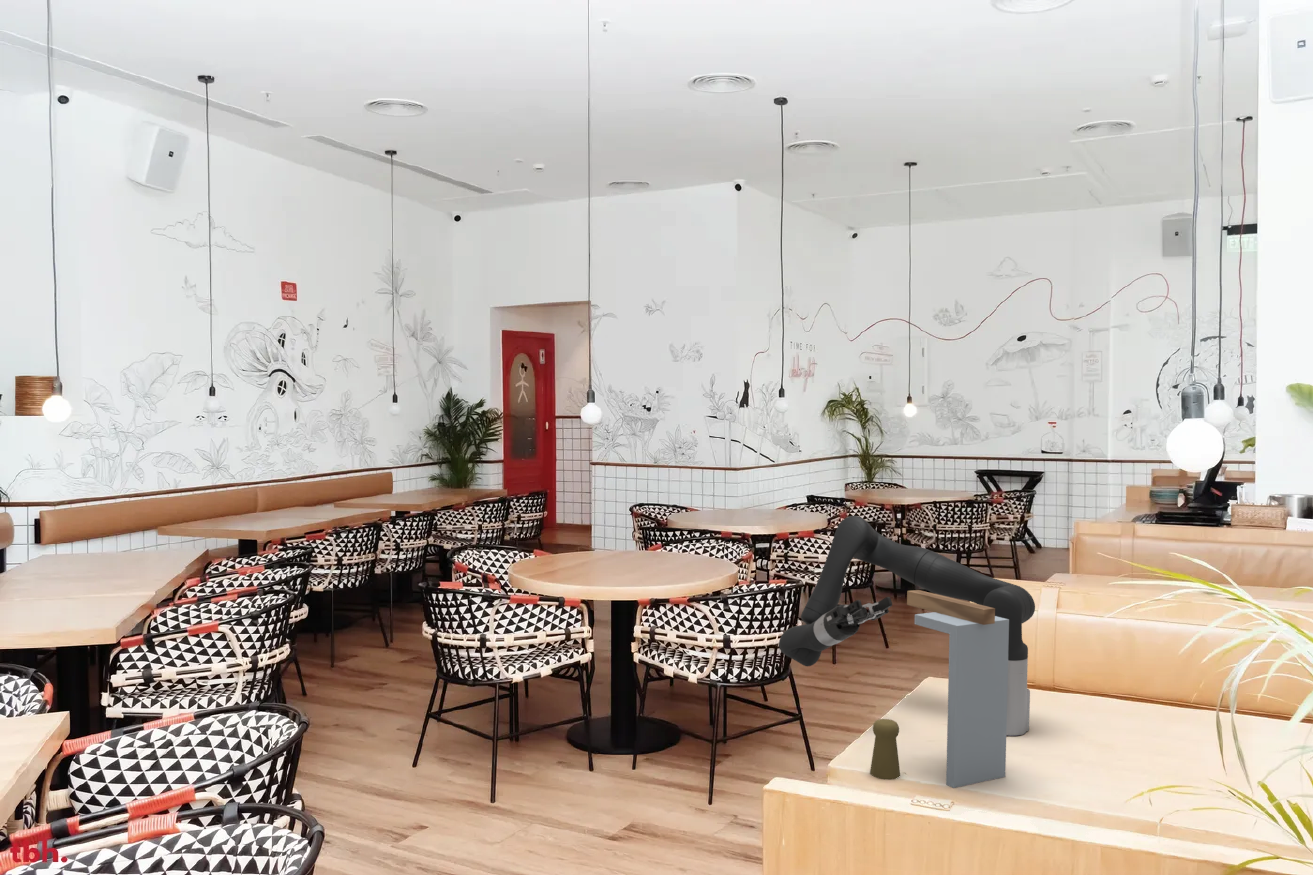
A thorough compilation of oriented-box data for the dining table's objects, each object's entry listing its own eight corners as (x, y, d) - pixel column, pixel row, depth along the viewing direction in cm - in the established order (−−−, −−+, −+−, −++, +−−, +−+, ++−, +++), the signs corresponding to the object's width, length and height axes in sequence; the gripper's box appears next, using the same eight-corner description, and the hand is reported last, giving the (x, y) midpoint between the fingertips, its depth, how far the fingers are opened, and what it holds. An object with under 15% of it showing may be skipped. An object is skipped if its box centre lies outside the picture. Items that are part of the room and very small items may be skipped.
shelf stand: (962, 758, 222) (965, 608, 221) (1005, 776, 212) (1009, 619, 211) (911, 768, 216) (914, 614, 215) (953, 788, 205) (957, 625, 204)
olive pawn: (900, 780, 209) (901, 726, 209) (869, 778, 210) (870, 723, 210) (899, 770, 215) (900, 717, 214) (869, 767, 216) (870, 715, 216)
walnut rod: (917, 603, 226) (918, 589, 226) (994, 623, 207) (995, 608, 207) (907, 604, 225) (907, 590, 225) (983, 624, 205) (983, 609, 205)
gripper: (807, 613, 247) (845, 589, 234) (855, 608, 254) (894, 584, 241) (816, 643, 244) (855, 621, 231) (864, 638, 251) (905, 615, 238)
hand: (875, 602), depth 236 cm, fingers open, 8 cm apart
